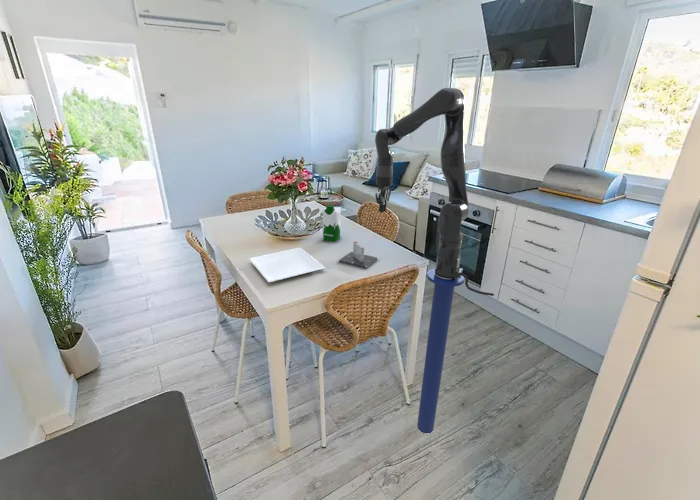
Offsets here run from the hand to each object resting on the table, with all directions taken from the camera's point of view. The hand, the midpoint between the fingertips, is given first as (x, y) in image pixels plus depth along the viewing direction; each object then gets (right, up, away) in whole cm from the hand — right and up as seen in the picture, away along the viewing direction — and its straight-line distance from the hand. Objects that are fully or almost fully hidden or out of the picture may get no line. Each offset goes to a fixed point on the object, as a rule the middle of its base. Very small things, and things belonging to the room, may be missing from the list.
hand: (382, 211), depth 166 cm
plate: (-44, -26, -8) cm, 52 cm away
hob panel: (-12, -24, -1) cm, 27 cm away
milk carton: (-25, -13, +25) cm, 38 cm away
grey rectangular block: (-12, -22, -1) cm, 25 cm away
